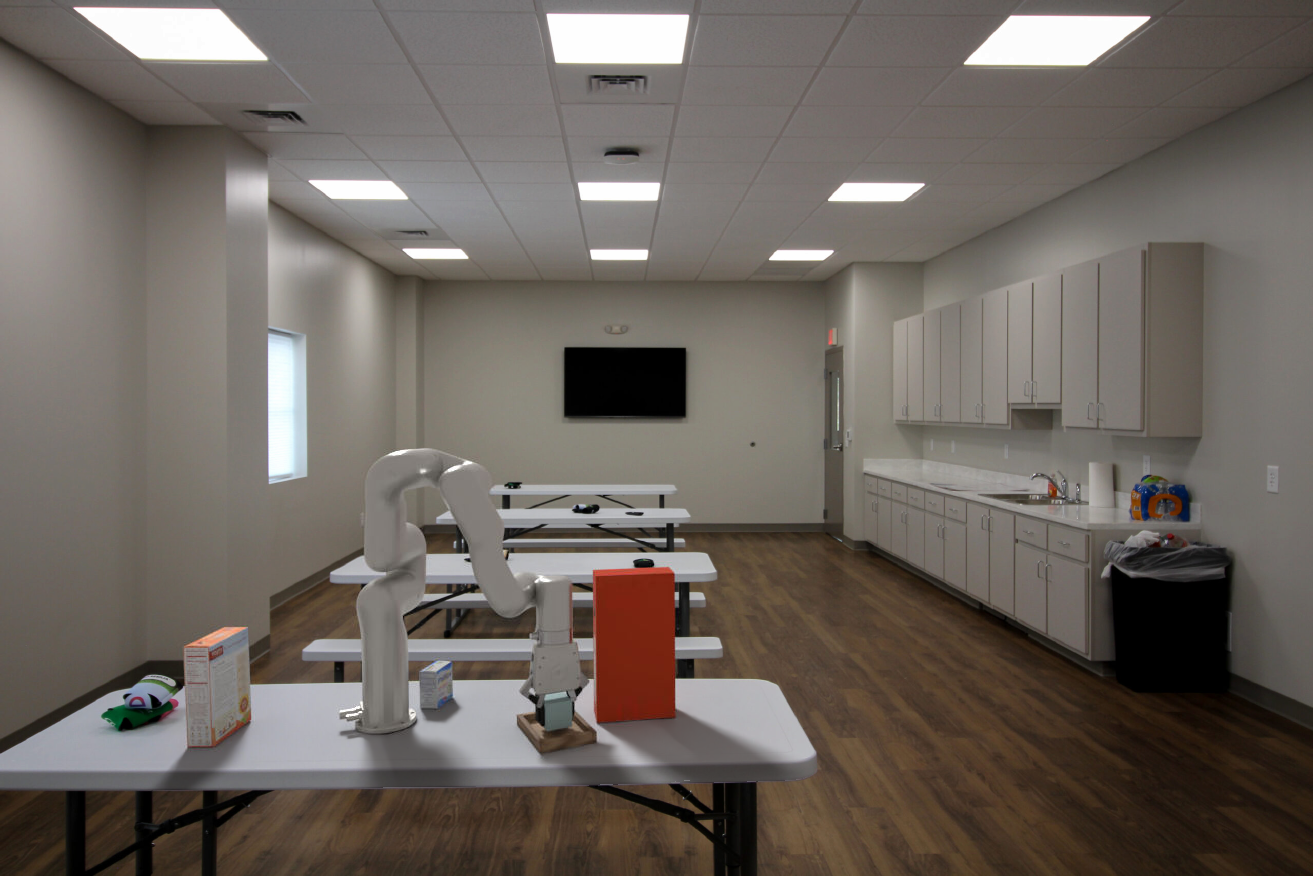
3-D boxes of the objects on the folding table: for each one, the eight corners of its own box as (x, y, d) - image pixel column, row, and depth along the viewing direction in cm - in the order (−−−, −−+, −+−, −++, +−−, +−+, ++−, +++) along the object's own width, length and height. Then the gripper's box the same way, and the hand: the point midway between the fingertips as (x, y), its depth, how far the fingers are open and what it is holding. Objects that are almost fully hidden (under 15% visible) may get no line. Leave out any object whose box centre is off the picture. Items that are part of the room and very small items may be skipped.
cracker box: (225, 720, 168) (223, 625, 168) (252, 720, 168) (250, 626, 168) (184, 748, 154) (181, 645, 154) (213, 748, 154) (210, 645, 154)
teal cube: (546, 731, 157) (546, 704, 157) (538, 721, 162) (538, 696, 162) (572, 726, 160) (572, 700, 159) (563, 717, 164) (563, 691, 164)
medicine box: (437, 710, 174) (436, 672, 174) (419, 708, 175) (418, 670, 175) (453, 697, 182) (452, 661, 181) (435, 696, 183) (435, 659, 182)
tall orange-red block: (593, 709, 174) (592, 569, 173) (668, 704, 176) (668, 566, 175) (596, 724, 166) (595, 576, 165) (675, 718, 169) (674, 573, 167)
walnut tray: (539, 754, 151) (539, 743, 151) (516, 724, 165) (516, 714, 165) (596, 742, 156) (596, 731, 156) (569, 714, 171) (569, 705, 171)
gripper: (519, 646, 153) (520, 736, 154) (599, 634, 161) (599, 720, 161) (509, 636, 160) (510, 722, 160) (586, 626, 167) (586, 708, 168)
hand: (555, 720), depth 161 cm, fingers closed on teal cube, 5 cm apart
